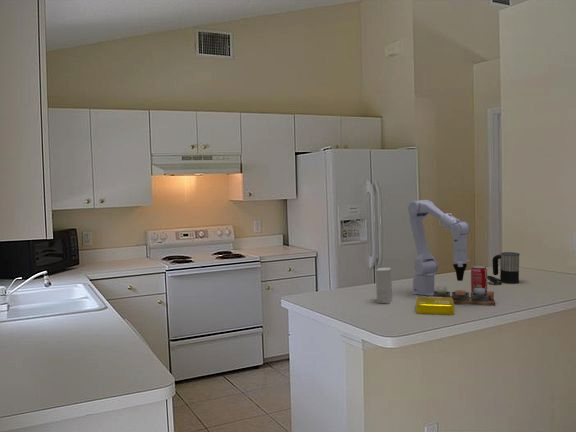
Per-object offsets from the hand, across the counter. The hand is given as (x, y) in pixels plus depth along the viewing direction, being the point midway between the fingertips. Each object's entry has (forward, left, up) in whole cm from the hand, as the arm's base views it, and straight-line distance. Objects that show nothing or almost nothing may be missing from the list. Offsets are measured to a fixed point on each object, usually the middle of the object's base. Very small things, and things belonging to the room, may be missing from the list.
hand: (459, 280), depth 247 cm
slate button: (+8, +2, -6) cm, 10 cm away
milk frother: (+9, +50, -10) cm, 52 cm away
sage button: (-7, -2, -6) cm, 10 cm away
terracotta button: (0, 0, -8) cm, 8 cm away
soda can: (+4, +18, -10) cm, 21 cm away
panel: (0, 0, -9) cm, 9 cm away
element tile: (-5, -19, -10) cm, 22 cm away
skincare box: (-30, -14, -10) cm, 34 cm away
